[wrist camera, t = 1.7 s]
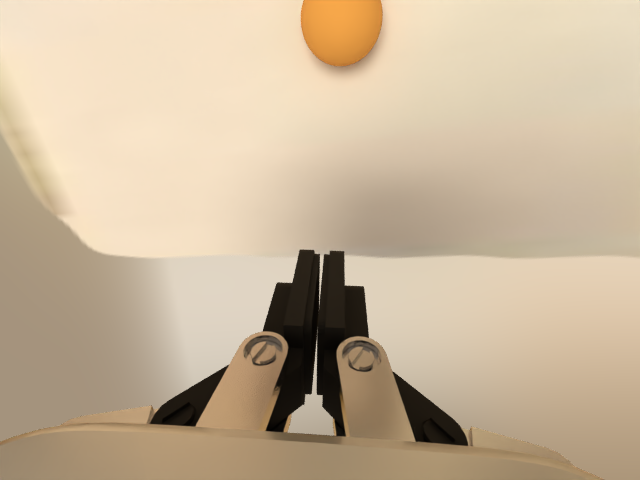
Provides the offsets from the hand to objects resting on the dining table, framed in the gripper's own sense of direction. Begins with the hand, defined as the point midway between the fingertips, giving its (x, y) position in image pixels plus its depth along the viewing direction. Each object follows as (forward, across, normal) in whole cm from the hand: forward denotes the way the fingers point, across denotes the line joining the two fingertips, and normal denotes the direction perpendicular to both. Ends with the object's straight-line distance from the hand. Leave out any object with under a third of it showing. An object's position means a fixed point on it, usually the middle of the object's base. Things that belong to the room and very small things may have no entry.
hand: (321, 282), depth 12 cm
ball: (+14, 0, -10) cm, 17 cm away
